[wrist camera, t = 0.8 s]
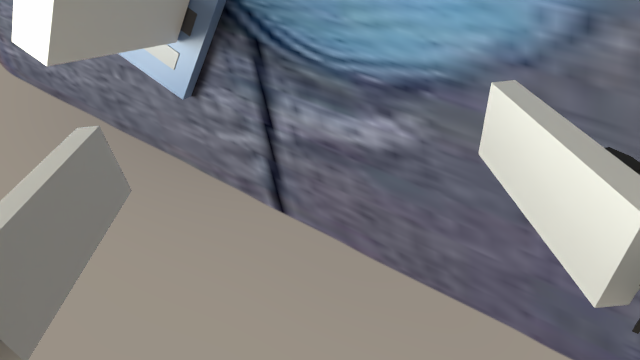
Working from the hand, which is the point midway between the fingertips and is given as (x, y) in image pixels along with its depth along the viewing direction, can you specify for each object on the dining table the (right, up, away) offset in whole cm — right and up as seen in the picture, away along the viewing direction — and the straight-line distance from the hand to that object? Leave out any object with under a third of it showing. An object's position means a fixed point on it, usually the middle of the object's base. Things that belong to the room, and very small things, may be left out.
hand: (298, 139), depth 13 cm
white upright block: (-14, +15, +23) cm, 31 cm away
